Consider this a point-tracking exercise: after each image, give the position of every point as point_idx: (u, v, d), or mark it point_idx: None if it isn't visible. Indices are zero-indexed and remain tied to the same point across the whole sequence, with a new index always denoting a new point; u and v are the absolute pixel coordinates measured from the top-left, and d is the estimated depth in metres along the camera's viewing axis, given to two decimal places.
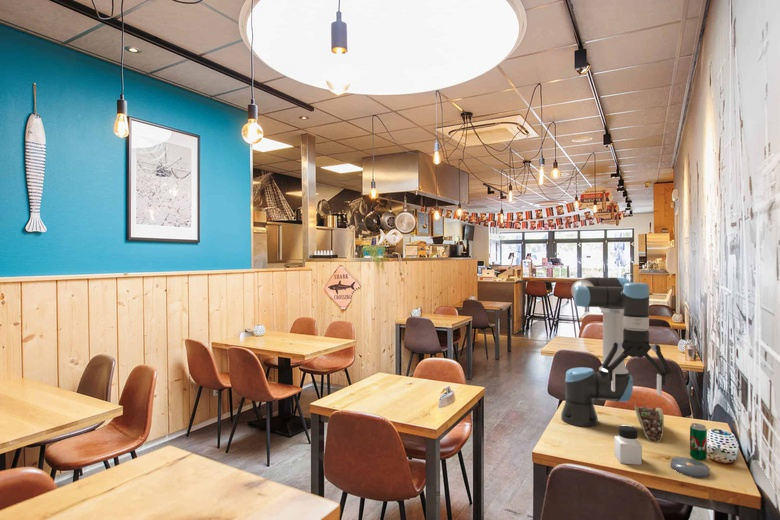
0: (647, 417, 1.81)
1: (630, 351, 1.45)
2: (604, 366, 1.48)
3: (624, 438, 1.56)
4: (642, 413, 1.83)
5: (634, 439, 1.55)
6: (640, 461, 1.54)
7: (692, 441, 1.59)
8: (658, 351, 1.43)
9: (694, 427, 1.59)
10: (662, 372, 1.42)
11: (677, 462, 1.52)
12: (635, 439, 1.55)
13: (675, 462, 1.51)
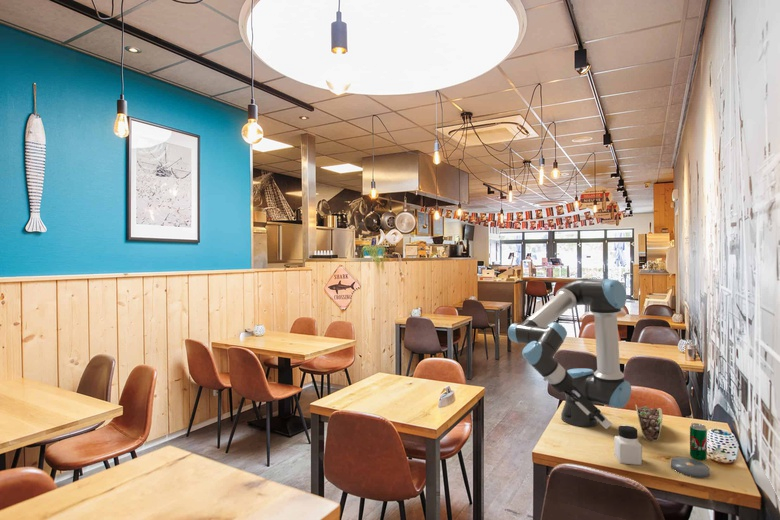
0: (646, 417, 1.82)
1: None
2: (569, 397, 1.68)
3: (624, 438, 1.56)
4: (641, 413, 1.84)
5: (634, 439, 1.55)
6: (640, 461, 1.54)
7: (692, 441, 1.59)
8: (576, 398, 1.52)
9: (694, 427, 1.59)
10: (591, 413, 1.51)
11: (677, 462, 1.52)
12: (635, 439, 1.55)
13: (675, 462, 1.51)
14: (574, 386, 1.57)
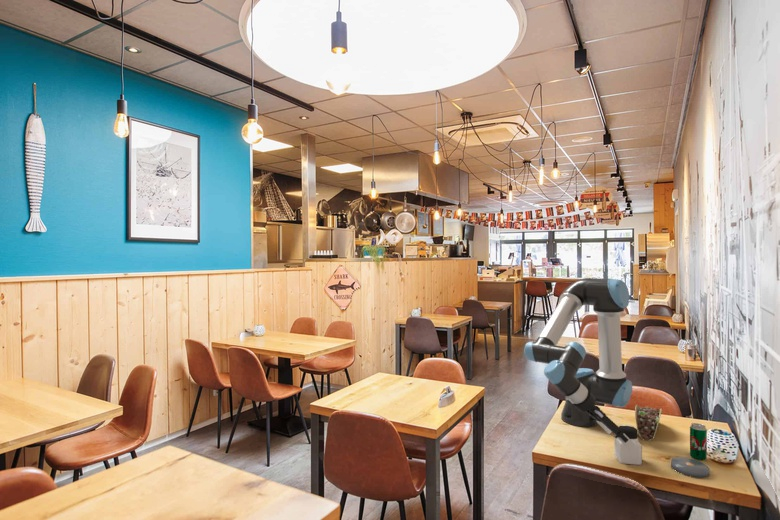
0: (644, 416, 1.82)
1: None
2: (590, 415, 1.67)
3: None
4: (640, 412, 1.85)
5: (634, 439, 1.55)
6: (640, 461, 1.54)
7: (692, 441, 1.59)
8: (599, 419, 1.51)
9: (694, 427, 1.59)
10: None
11: (677, 462, 1.52)
12: (635, 439, 1.55)
13: (675, 462, 1.51)
14: (596, 406, 1.56)
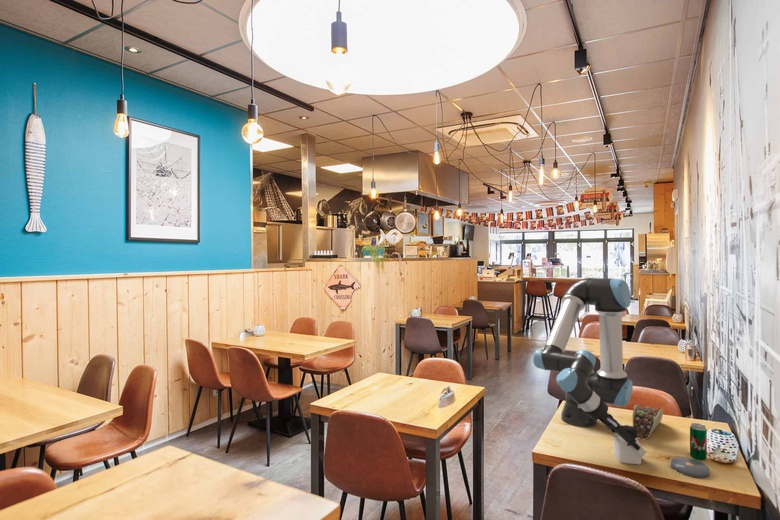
0: (641, 415, 1.83)
1: (601, 421, 1.60)
2: None
3: None
4: (638, 411, 1.85)
5: None
6: (640, 460, 1.54)
7: (692, 441, 1.59)
8: (613, 428, 1.52)
9: (694, 427, 1.59)
10: (627, 442, 1.53)
11: (677, 462, 1.52)
12: None
13: (675, 462, 1.51)
14: (609, 414, 1.57)
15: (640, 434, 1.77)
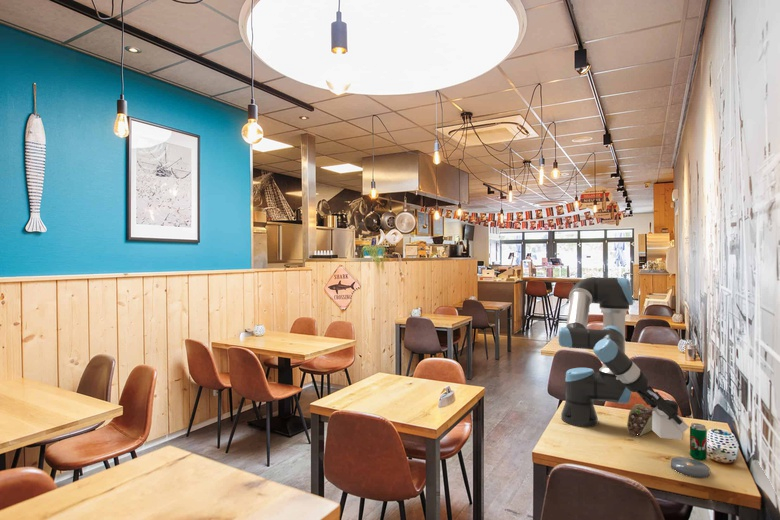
0: (638, 414, 1.85)
1: (640, 394, 1.53)
2: (646, 402, 1.59)
3: None
4: (636, 410, 1.87)
5: None
6: (681, 436, 1.47)
7: (692, 441, 1.59)
8: (654, 400, 1.46)
9: (694, 427, 1.59)
10: None
11: (677, 462, 1.52)
12: None
13: (675, 462, 1.51)
14: (649, 386, 1.50)
15: (633, 432, 1.80)
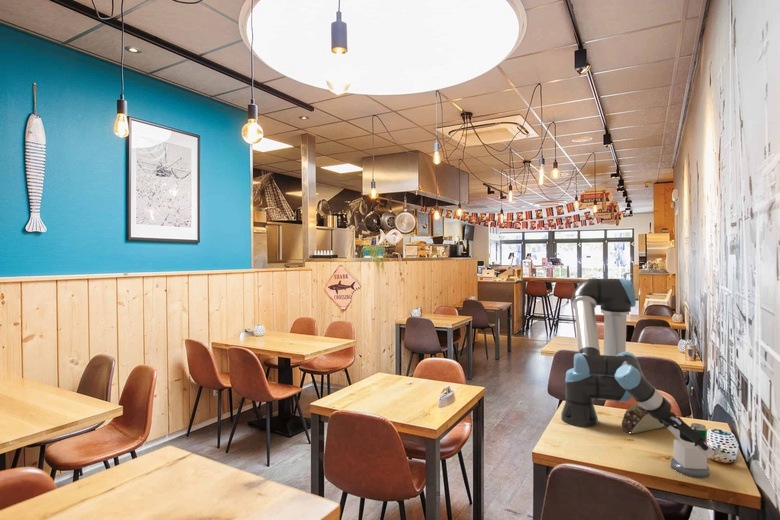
0: (635, 413, 1.86)
1: (661, 419, 1.52)
2: (659, 421, 1.60)
3: (688, 442, 1.48)
4: (635, 409, 1.88)
5: None
6: (705, 465, 1.47)
7: None
8: (677, 426, 1.44)
9: (694, 427, 1.59)
10: (694, 442, 1.43)
11: (677, 462, 1.52)
12: None
13: (675, 462, 1.51)
14: (671, 412, 1.49)
15: (626, 429, 1.83)
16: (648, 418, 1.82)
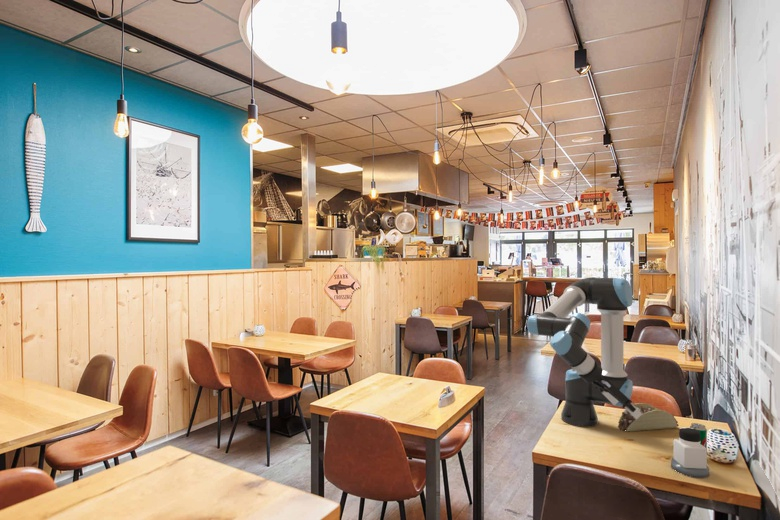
0: None
1: (594, 384, 1.57)
2: (595, 387, 1.65)
3: (687, 441, 1.48)
4: None
5: (698, 442, 1.48)
6: (705, 465, 1.47)
7: None
8: (606, 389, 1.49)
9: (694, 427, 1.59)
10: (622, 404, 1.48)
11: (677, 462, 1.52)
12: (699, 442, 1.48)
13: (675, 462, 1.51)
14: (603, 376, 1.54)
15: (621, 426, 1.86)
16: (645, 417, 1.83)
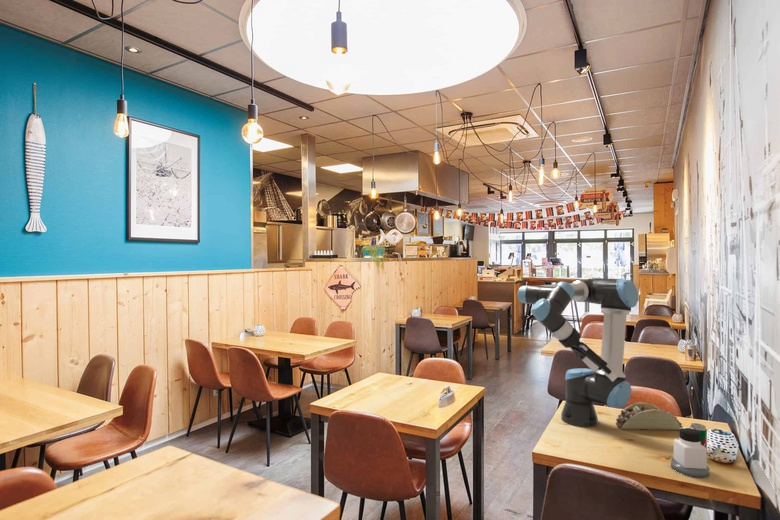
0: (633, 410, 1.89)
1: (573, 349, 1.65)
2: (576, 355, 1.73)
3: (688, 441, 1.48)
4: (635, 407, 1.91)
5: (698, 442, 1.48)
6: (705, 465, 1.47)
7: None
8: (584, 352, 1.57)
9: (694, 427, 1.59)
10: (598, 366, 1.56)
11: (677, 462, 1.52)
12: (699, 442, 1.48)
13: (675, 462, 1.51)
14: (581, 342, 1.62)
15: (618, 424, 1.89)
16: (642, 416, 1.84)
